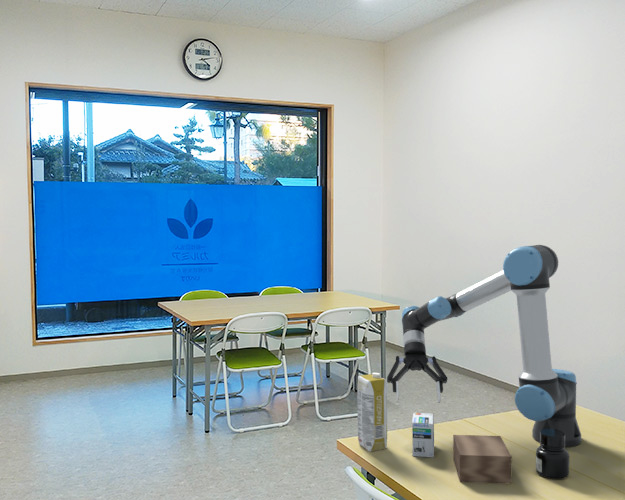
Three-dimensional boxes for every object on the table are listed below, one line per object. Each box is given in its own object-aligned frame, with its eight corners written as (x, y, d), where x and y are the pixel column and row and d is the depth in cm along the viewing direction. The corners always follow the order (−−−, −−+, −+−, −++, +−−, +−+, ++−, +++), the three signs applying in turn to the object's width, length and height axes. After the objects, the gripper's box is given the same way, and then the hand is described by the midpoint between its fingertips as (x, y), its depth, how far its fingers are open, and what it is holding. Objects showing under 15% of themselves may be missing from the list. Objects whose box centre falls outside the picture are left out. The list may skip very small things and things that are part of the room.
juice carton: (390, 449, 197) (389, 375, 196) (368, 453, 194) (367, 378, 193) (376, 439, 206) (375, 368, 205) (355, 443, 203) (354, 371, 202)
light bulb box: (434, 458, 190) (433, 423, 189) (411, 456, 191) (411, 422, 191) (434, 445, 200) (434, 412, 200) (413, 444, 202) (413, 411, 201)
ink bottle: (542, 464, 184) (542, 424, 183) (573, 471, 178) (573, 431, 178) (530, 475, 177) (531, 434, 176) (562, 483, 171) (563, 441, 170)
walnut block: (500, 461, 187) (500, 435, 187) (511, 484, 171) (511, 456, 171) (453, 460, 189) (453, 434, 188) (459, 482, 173) (459, 454, 172)
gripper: (449, 352, 220) (455, 406, 206) (378, 351, 222) (380, 405, 208) (451, 340, 215) (458, 395, 201) (379, 340, 217) (380, 394, 203)
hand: (418, 400), depth 204 cm, fingers open, 13 cm apart
